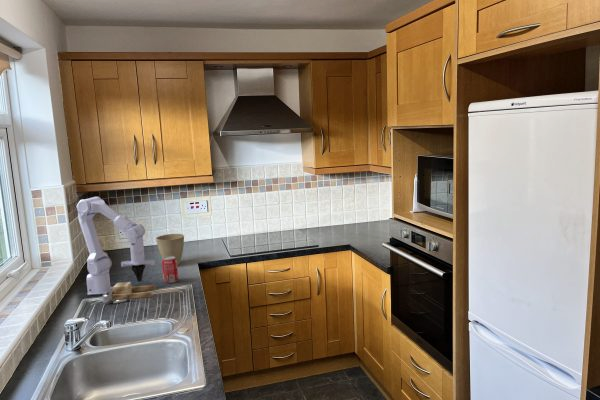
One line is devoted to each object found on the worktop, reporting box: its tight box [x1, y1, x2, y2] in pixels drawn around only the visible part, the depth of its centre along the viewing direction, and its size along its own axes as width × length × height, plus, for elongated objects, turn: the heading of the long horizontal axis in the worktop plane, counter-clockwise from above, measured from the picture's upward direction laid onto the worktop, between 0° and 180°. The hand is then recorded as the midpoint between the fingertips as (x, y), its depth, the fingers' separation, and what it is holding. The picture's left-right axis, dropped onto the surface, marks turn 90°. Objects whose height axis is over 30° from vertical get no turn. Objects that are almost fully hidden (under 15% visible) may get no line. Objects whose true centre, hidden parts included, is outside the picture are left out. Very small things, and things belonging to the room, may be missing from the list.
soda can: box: [161, 256, 179, 284], centre depth 221 cm, size 7×7×12 cm
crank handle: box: [113, 295, 131, 305], centre depth 197 cm, size 7×1×2 cm, turn 115°
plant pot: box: [155, 233, 185, 266], centre depth 249 cm, size 15×15×16 cm
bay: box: [109, 284, 157, 301], centre depth 206 cm, size 18×10×3 cm, turn 95°
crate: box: [112, 281, 133, 294], centre depth 205 cm, size 6×6×5 cm
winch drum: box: [102, 291, 114, 305], centre depth 197 cm, size 4×4×5 cm
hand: (139, 280), depth 205 cm, fingers closed
